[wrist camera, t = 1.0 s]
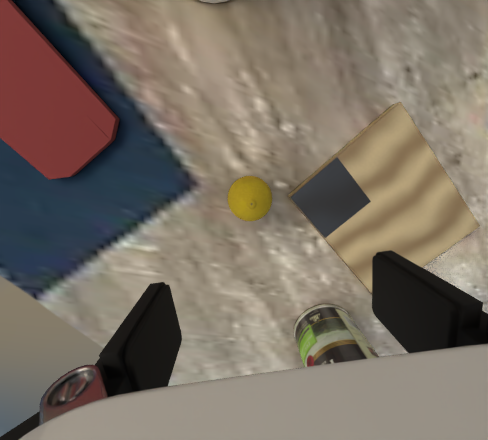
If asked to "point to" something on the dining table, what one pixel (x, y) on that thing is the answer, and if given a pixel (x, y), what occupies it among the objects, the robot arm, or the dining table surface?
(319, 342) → the coffee can
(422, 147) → the board
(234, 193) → the lemon
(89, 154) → the red sloped ramp
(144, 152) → the dining table surface
